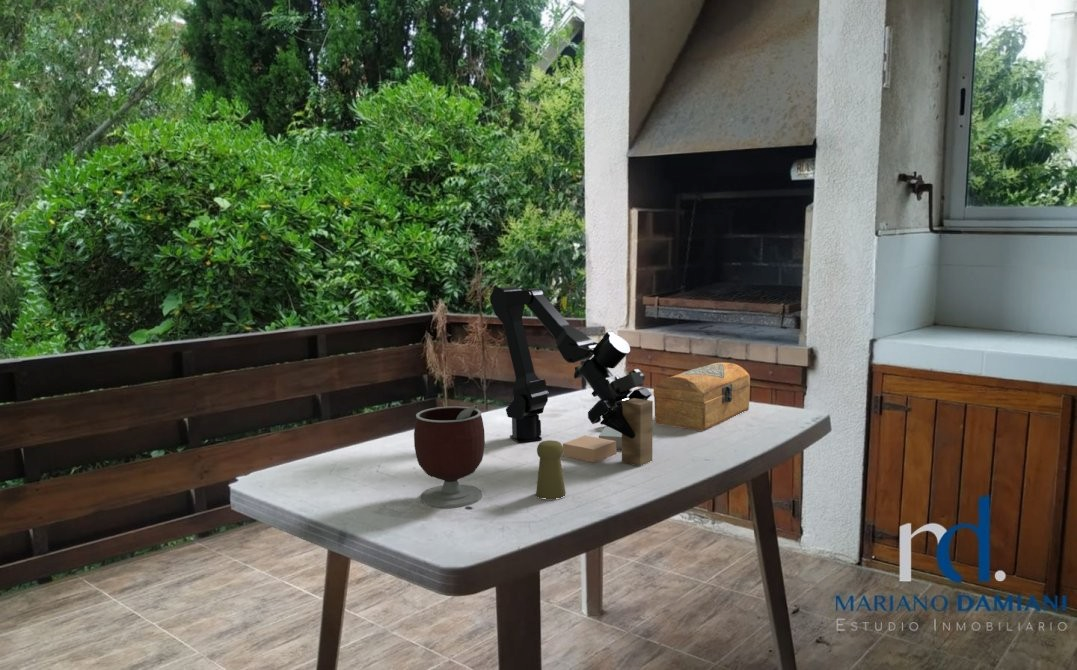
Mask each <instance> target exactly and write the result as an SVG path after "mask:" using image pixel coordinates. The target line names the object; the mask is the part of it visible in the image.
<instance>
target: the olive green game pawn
mask: <svg viewBox="0 0 1077 670" xmlns="http://www.w3.org/2000/svg"><path fill="white" fill-rule="evenodd" d="M536 454H537V456H538V458H539V464H538V473H537V481H536V490H535V497H536V496H537V497H539V498H546V499H556V498H561V497H563V496H565V494H566V495H567V492H566V488H565V487H566V486H565V480H564V474H563V467H562V460H561V458H562V456H563V443H561V442H559V441H558V440H552V439H551V440H550V439H549V440H548V439H547V440H541V442H539V443H538V444H537V448H536ZM537 497H536V498H537ZM565 497H566V496H565ZM539 498H538V499H539ZM561 499H562V498H561Z"/></svg>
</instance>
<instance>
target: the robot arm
mask: <svg viewBox="0 0 1077 670" xmlns="http://www.w3.org/2000/svg"><path fill="white" fill-rule="evenodd" d="M489 303H490V306H491V308H492V310H493V313H494V315H495V316H496V317H497V318H498V319H499V320H500V322H501V323H502V325H503V326H502V327H503V330H504V334H505V338H506V343H507V347H508V351H509V356H510V359H511V364H512V367H513V372H514V376H515V380H514V385H513V389H512V394H513V400H512V401H511V402H510V404H509V405H508V406H506V408H505V412H506V416H507V417H508V418H511V433H512V434H510V435H509V438H510V439H512V440H513V441H515V442H516V443H525V442H526V443H527V442H528V443H529V442H536V441H543V437H541V436H542V422H541V420H540V415H539V414H543V413H544V410H545V406H546V405H547V403H548V402H549V401H548V400H549V398H548V397H549V396H548V395H549V394H550V393H549V391H548V389H547V382H546V379H545V378H539V377H538V375H537V374H536V372H535V369H534V364H533V361H532V356H531V353H530V347H529V342H528V339H527V335H526V332H525V327H524V323H523V316H524V311H525V306H527V308H528V309H529V310H530V311H531V312H532V313H533V315H534V316H535V317H536V318H537V319H538V321H540V323H541V324H542V325H543V326H544V327H545V328H546V330H547V331H548V332H549V333H550V334H551V336H553V339H554V340H555V343H556V348H557V350H558V352H559V353H560V355H561V357H562V358H563V360H564V361H565V362H566V363H571V364H575V363H580V362H582V364H581V365H577V366H575V367H574V370H575V371H574V374H573V378H574V379H575V380H576V379H580V378H583V379H584V380H585V381H586V382H587V383H588V385H589V386H590V387H591V389H592V390H593V391H592V392H591V394H590V395H592V396H593V398H596V397H598V398H599V400H598V401H597V402H596V403H595V404H594V405H593V406H592V407H591V408H590V409H589V411H587V419H588V420H589V421H590V423H591V424H592V425H595V424H598V423H600V425H601V426H603V425H604V426H605V427H610V428H612V429H614V430H616V431H618V432H620V433H622V434H624V435H626V436H628V437H629V438H631V439H633V438H634V437H635V434H634V432H633V430H632V428H631V427H630V425H629V424H628V422H627V421H626V419H625V418H624V416H623V410H622V402H623V401H627V400H630V399H633V398H636V399H643V400H648V399H649V398H650V397H652V392H650V390H649V389H648V388H647V387H642V386H644V385H645V383H644V381H645V378H646V377H645V374H644V373H643V372H642V371H641V370H640V369H639V368H635V369H633V370H630V371H629V373H628V374H626V375H624V376H622V377H621V376H620V375H613V374H612V372H611V371H610V370H609V369H615V368H617V366H618V365H619V364H620V363H621V361H623V360H624V358H626V356H627V355H628V354H629V353H630V352H631V347H630V344H629V343H628V341H627V340H626V339H624V338H623V337H621V336H619V335H617V334H615V333H614V332H613V331H607V332H605V334H604V335H603V336H602V338H601V339H600V341H598V342H595V341H593V340H592V339H591V338H590V337H589V336H587V335H586V333H584V332H583V331H581V330H580V329H577V328H575V327H573V326H572V325H571V324H570V323H569V322H568V321H567V320H566V319H565V317H563V315H562V314H561V313H560V312H559V311H558V309H557V308H556V307H555V306H554V305H553V304H552V303H551V302H550V301H549V299H548V298H547V297H546V296H545V294H544V292H543V290H541V289H540V288H538V287H535V288H526V289H521V288H519V287H518V286H516V285H512V286H511V285H510V286H500V287H499V286H498V287H495V288H494V289H493V290H492V291H491V294H490V295H489ZM637 387H640V388H637ZM635 388H636V389H635ZM632 389H634V390H632Z"/></svg>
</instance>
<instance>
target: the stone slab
mask: <svg viewBox="0 0 1077 670" xmlns="http://www.w3.org/2000/svg"><path fill="white" fill-rule="evenodd" d="M598 438H602V439H607V440H613V441H616V450H622V433H620V432H618V431H616V430H614V429H612V428H610V427H608V426H605V427H604V428H603V429H602V431H600V434H599V435H598Z"/></svg>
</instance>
